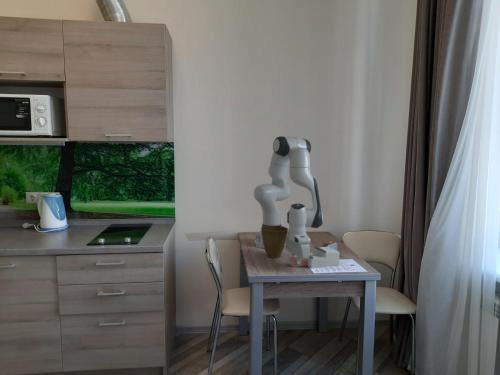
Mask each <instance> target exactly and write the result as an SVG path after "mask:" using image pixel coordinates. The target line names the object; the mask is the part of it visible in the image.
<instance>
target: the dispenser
mask: <svg viewBox="0 0 500 375" xmlns="http://www.w3.org/2000/svg"><path fill="white" fill-rule="evenodd" d="M313 247H314V251H310V255H309V258H308V265H307V267H309V268H310V269H316V268H319V267H320V268H327V267H328V266H329V267H337V266H338V267H339V266H340V254H341V253H340V251H339V250H337V251H336V250H334V249H332V248H330V247H322V246H321V247H319V246H317V245H314V246H313ZM312 255H315V256H312Z"/></svg>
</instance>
